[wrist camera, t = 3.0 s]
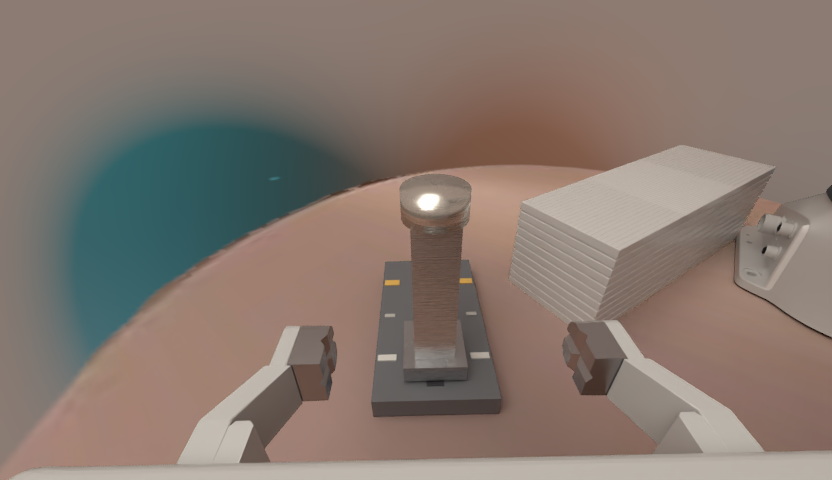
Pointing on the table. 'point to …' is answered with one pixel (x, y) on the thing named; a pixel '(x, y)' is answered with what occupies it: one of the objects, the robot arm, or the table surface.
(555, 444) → the table surface
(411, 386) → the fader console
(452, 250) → the lever
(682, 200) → the stack of papers
